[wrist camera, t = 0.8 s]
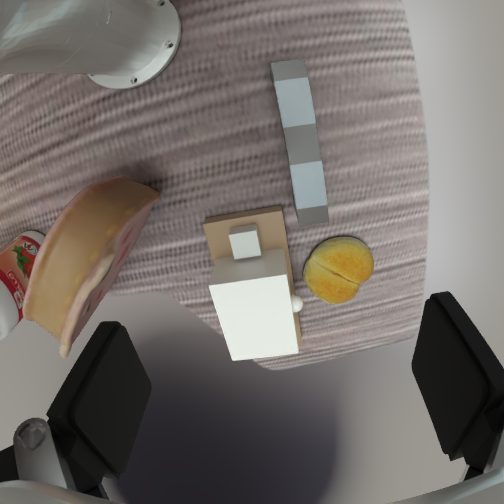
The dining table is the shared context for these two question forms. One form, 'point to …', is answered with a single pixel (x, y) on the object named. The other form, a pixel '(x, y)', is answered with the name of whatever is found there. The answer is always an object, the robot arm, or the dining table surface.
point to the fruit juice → (16, 277)
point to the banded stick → (301, 140)
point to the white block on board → (254, 283)
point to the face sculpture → (85, 255)
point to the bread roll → (338, 269)
